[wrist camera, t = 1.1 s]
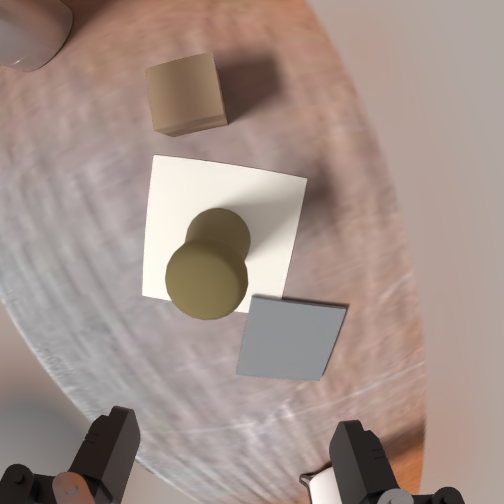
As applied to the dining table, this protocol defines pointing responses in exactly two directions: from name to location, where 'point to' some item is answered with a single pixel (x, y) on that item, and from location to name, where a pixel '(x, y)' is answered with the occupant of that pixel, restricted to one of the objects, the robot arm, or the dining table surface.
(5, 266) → the dining table surface
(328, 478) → the coffee press
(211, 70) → the walnut block
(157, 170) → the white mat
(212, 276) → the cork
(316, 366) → the slate coaster
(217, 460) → the dining table surface
